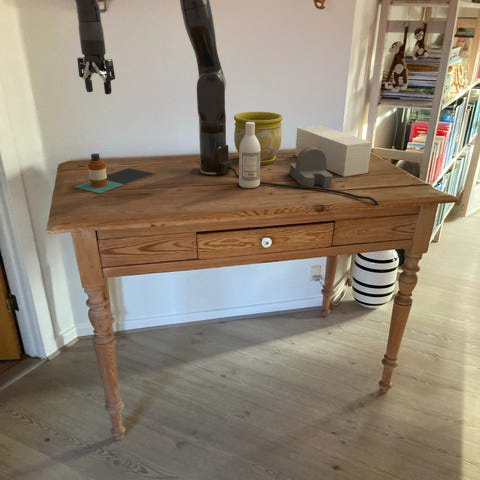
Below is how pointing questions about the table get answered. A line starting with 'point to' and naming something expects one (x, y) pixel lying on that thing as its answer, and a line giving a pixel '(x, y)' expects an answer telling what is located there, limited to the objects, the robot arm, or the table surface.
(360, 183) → the table surface
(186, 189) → the table surface
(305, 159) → the bracket
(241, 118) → the flowerpot
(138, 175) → the mat
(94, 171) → the soap bottle
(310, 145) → the white rectangular box
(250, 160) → the bath foam
